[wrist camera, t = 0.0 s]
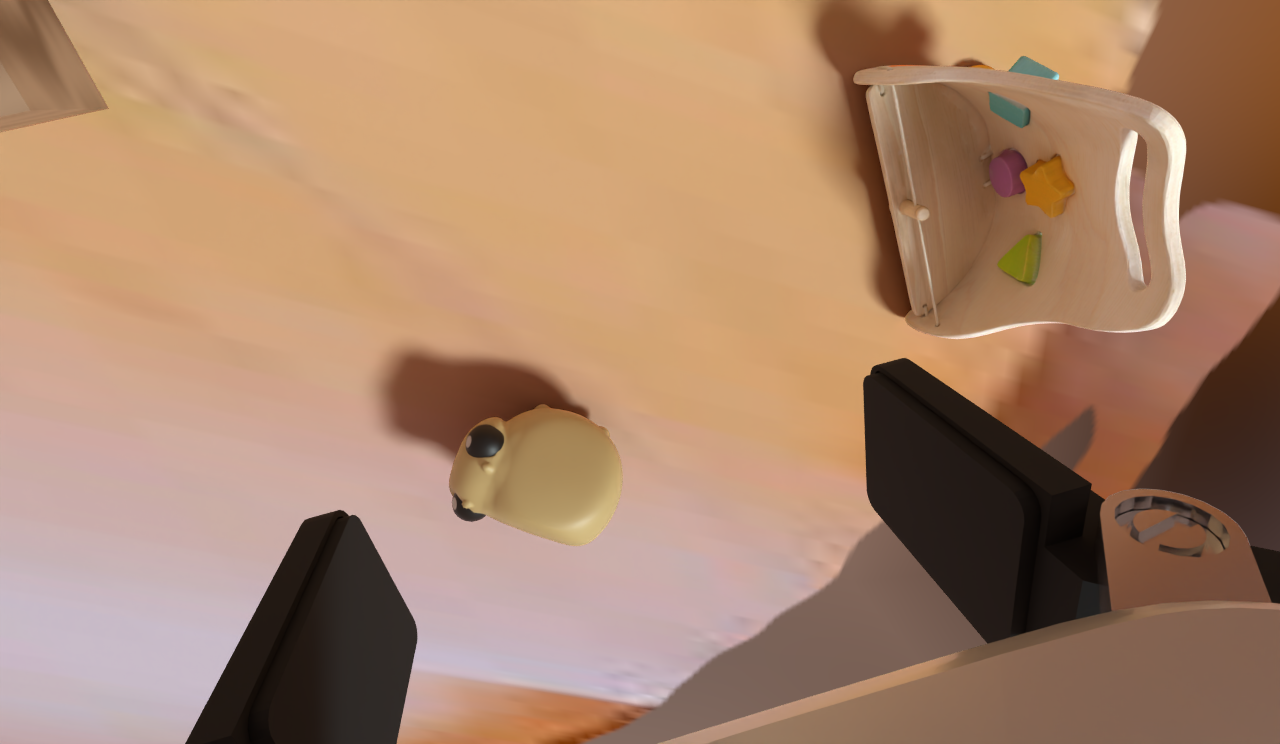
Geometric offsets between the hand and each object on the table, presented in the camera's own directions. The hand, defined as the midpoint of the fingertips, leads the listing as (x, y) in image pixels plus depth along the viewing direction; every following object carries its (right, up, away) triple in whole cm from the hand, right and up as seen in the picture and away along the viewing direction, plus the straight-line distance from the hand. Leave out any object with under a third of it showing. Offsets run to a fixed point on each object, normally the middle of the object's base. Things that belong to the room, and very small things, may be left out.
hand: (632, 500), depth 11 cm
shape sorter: (+22, +17, +33) cm, 43 cm away
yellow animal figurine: (-8, -3, +36) cm, 37 cm away
